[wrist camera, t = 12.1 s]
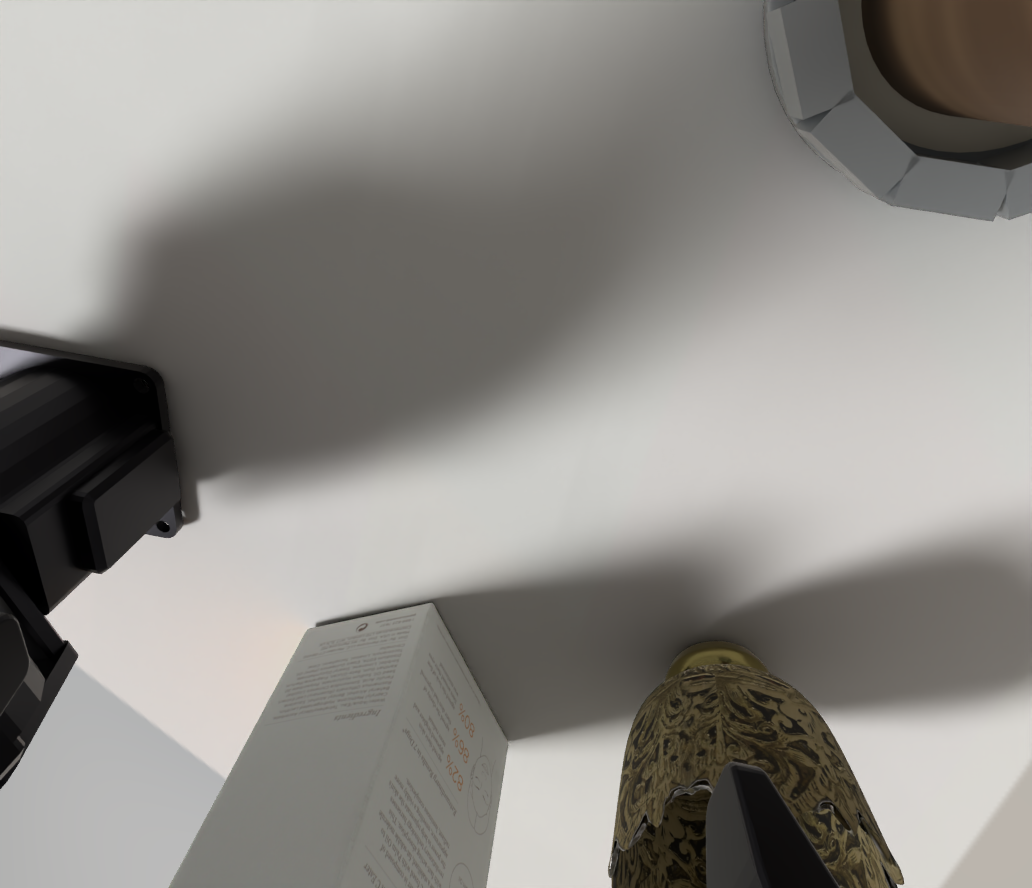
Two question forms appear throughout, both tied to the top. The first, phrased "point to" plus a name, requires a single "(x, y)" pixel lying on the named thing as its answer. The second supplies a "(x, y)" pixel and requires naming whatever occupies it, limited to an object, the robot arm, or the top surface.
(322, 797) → the small box
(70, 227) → the top surface
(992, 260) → the top surface
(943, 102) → the brown cylinder
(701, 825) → the ornate scalloped vase
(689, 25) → the top surface
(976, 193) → the ring
